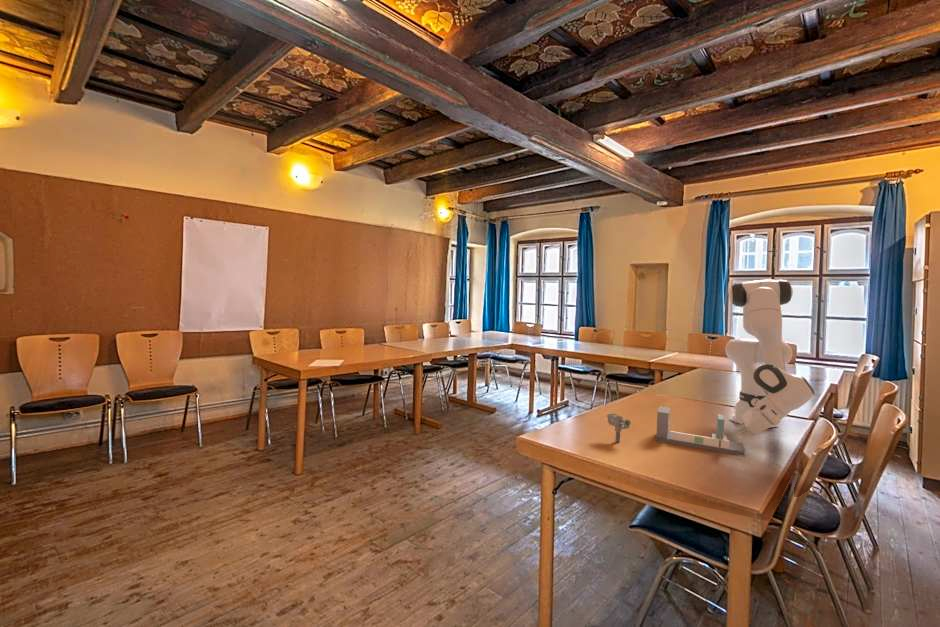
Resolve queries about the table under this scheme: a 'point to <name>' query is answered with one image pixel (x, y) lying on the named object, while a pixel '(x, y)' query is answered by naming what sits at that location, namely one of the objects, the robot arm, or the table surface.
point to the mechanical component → (618, 424)
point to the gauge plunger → (720, 428)
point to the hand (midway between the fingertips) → (736, 432)
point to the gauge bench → (693, 437)
